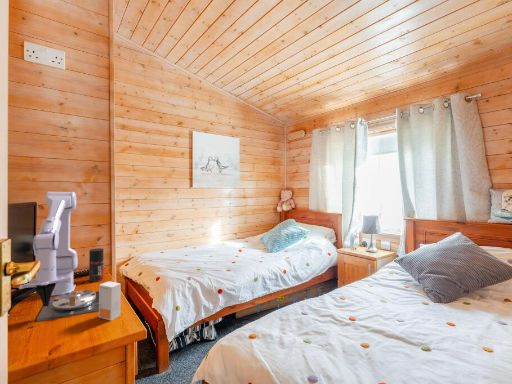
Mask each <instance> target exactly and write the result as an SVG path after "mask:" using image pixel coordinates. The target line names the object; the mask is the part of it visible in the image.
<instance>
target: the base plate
mask: <svg viewBox="0 0 512 384" xmlns="http://www.w3.org/2000/svg"><path fill="white" fill-rule="evenodd" d="M94 292H95V293H96V300H95V301H94V302H93V303H92V304H90V305H88V306H85V307H82V308H79V309H74V310H67V311H59V310H55V309H53V300H54V299H55V298H56V297H50V302H49V305H48V306H45V307H43V306H42V309H41V310H40V313H39V314H38V316H37V318H36V322H42V321H47V320H53V319H60V318H64V317H65V318H66V317H71V316H77V315H81V314H87V313H93V312H94V313H95V312H99V290H98V291H94Z"/></svg>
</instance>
